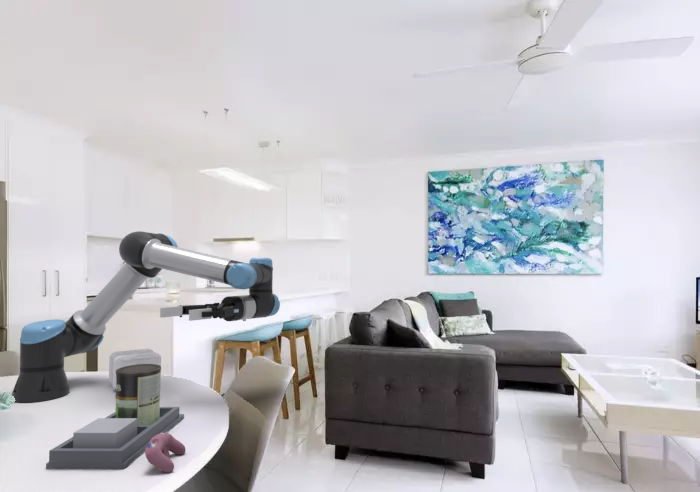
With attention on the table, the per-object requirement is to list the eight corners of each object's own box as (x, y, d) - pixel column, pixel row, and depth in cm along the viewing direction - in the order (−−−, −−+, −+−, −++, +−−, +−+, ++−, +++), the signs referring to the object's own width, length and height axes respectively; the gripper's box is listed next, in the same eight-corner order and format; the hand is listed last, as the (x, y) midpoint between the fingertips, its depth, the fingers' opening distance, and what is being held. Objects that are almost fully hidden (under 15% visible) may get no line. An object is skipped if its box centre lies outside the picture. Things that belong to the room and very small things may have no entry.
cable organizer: (155, 379, 161) (156, 347, 162) (161, 386, 152) (161, 352, 153) (108, 386, 153) (109, 352, 154) (111, 393, 144) (112, 357, 145)
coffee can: (112, 435, 104) (113, 374, 104) (116, 421, 113) (117, 365, 114) (160, 429, 108) (161, 370, 108) (160, 416, 117) (161, 362, 118)
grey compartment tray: (45, 468, 89) (46, 438, 90) (125, 417, 120) (125, 395, 120) (124, 468, 89) (125, 438, 89) (183, 417, 119) (184, 395, 120)
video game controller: (168, 461, 96) (154, 432, 96) (188, 450, 97) (173, 421, 97) (153, 482, 86) (136, 450, 86) (174, 471, 87) (158, 439, 87)
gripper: (265, 323, 129) (202, 331, 112) (211, 317, 144) (149, 324, 127) (265, 297, 130) (203, 301, 112) (212, 294, 144) (150, 298, 127)
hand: (174, 314), depth 120 cm, fingers open, 13 cm apart
